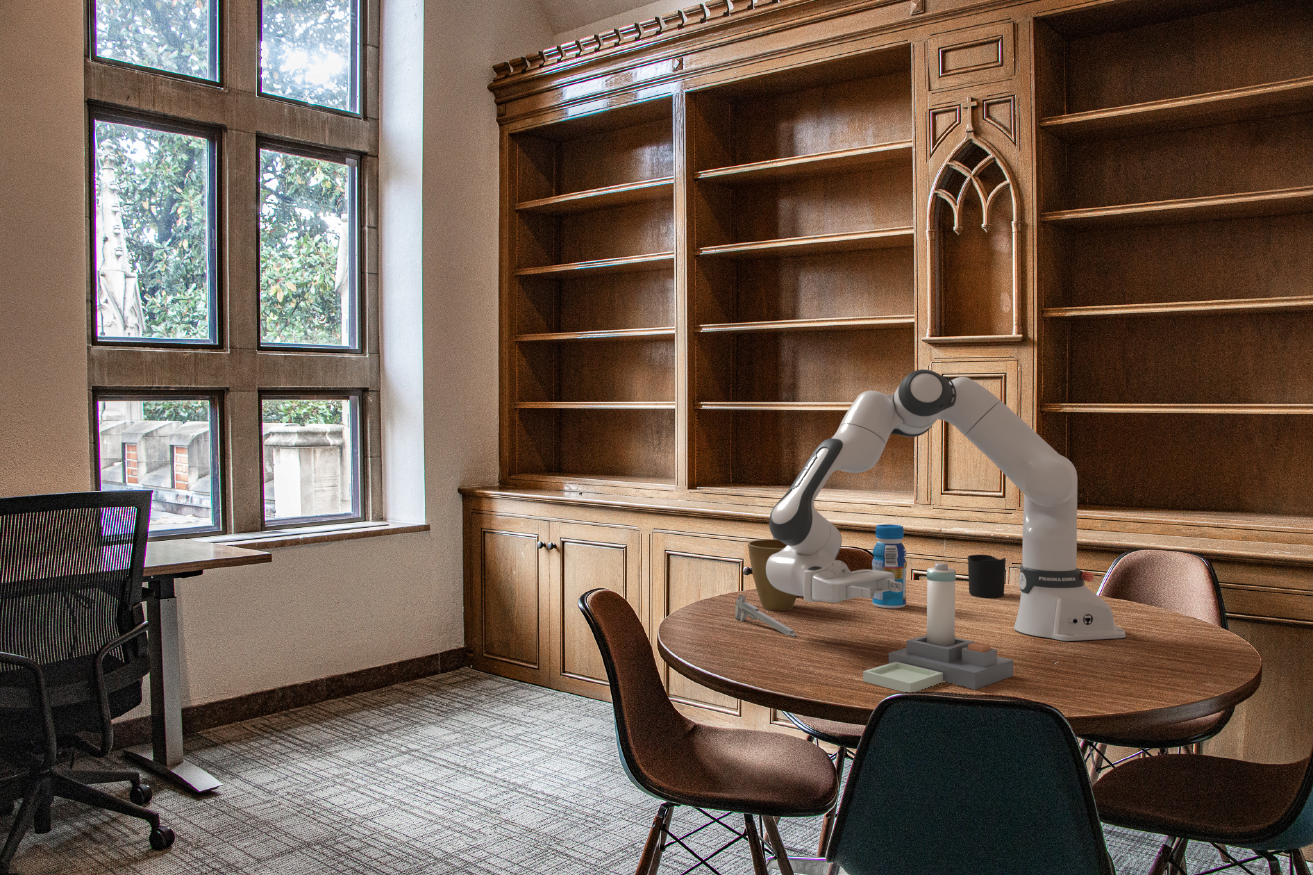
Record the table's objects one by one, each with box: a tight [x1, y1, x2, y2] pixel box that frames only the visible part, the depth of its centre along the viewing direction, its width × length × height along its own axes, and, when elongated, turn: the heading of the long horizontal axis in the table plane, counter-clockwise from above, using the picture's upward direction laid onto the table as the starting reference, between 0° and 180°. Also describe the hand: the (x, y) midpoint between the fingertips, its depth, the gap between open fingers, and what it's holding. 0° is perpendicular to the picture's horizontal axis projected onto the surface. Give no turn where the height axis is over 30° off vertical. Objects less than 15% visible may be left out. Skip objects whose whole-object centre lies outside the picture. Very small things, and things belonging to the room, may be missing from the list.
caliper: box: [734, 594, 798, 638], centre depth 214 cm, size 20×1×6 cm, turn 33°
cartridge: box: [926, 562, 957, 647], centre depth 179 cm, size 5×5×17 cm
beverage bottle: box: [871, 523, 908, 609], centre depth 237 cm, size 8×8×20 cm
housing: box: [888, 634, 1014, 691], centre depth 177 cm, size 13×18×6 cm
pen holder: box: [967, 554, 1007, 599], centre depth 251 cm, size 9×9×10 cm
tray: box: [862, 662, 944, 693], centre depth 171 cm, size 10×10×2 cm
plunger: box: [968, 641, 992, 652], centre depth 173 cm, size 3×3×3 cm
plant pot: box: [747, 538, 797, 611], centre depth 235 cm, size 15×15×16 cm
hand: (886, 590), depth 188 cm, fingers open, 8 cm apart
